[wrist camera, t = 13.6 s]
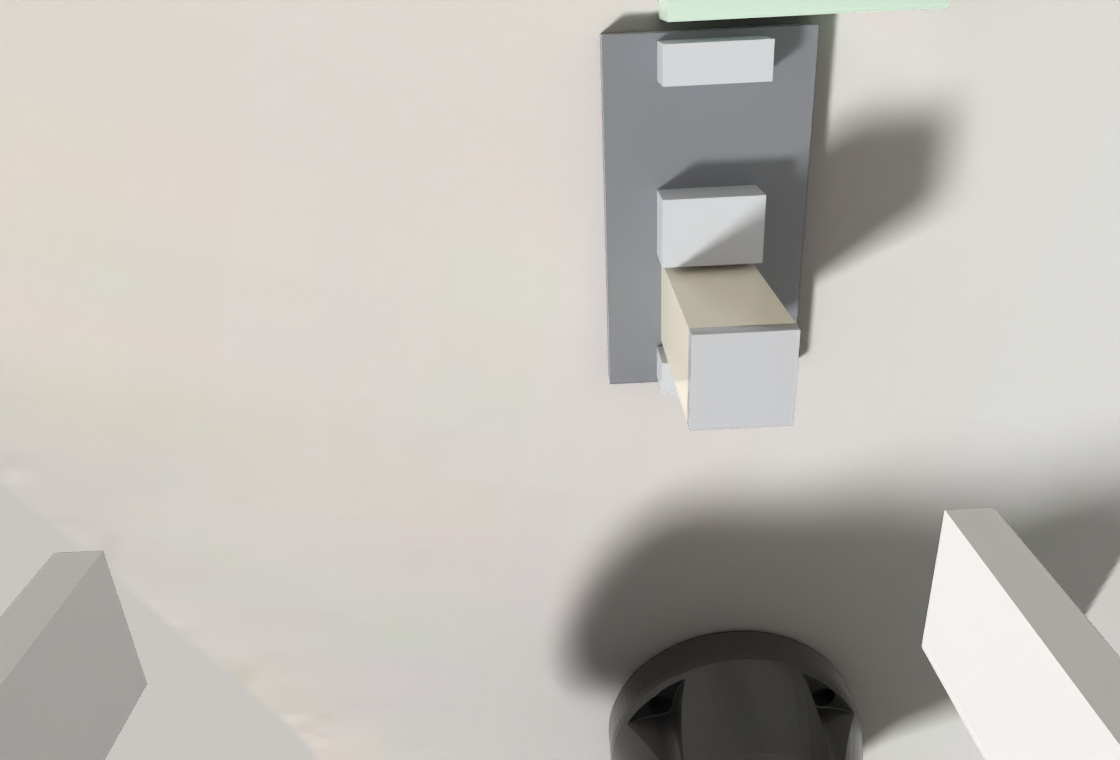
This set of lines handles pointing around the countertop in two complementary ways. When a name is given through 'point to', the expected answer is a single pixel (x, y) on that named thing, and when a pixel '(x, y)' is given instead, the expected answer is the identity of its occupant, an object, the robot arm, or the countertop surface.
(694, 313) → the block
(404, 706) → the countertop surface
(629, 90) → the block
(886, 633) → the countertop surface
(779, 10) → the tray
